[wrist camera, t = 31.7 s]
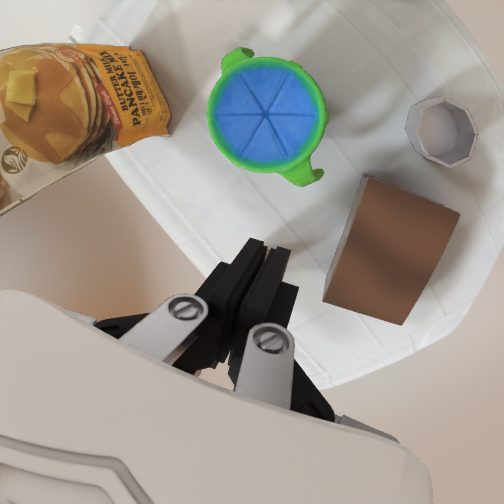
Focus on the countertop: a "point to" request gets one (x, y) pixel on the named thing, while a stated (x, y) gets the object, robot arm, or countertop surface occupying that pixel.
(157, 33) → the countertop surface
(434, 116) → the steel cup
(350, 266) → the lid
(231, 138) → the snack cup
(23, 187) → the pancake mix bag
